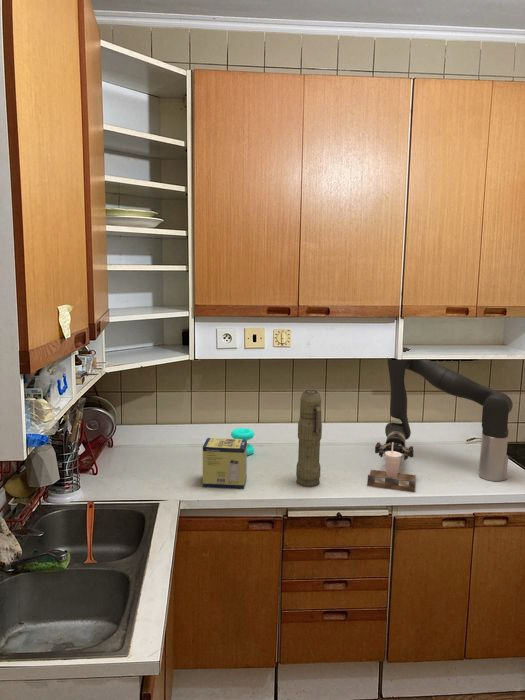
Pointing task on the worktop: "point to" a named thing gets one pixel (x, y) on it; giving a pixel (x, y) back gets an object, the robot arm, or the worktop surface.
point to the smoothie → (392, 463)
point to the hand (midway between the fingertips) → (393, 456)
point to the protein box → (225, 463)
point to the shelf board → (391, 481)
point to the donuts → (244, 437)
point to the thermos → (309, 439)
